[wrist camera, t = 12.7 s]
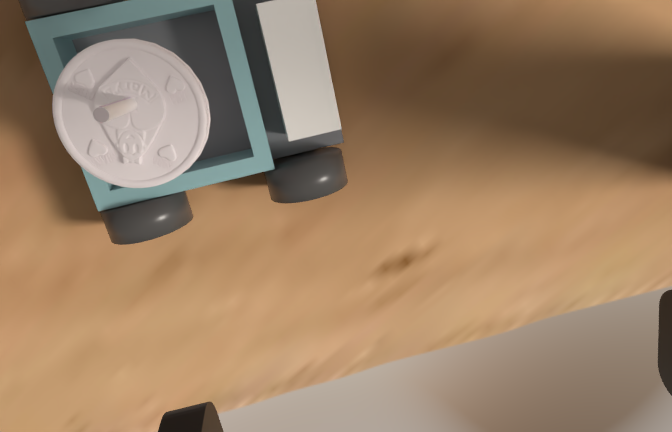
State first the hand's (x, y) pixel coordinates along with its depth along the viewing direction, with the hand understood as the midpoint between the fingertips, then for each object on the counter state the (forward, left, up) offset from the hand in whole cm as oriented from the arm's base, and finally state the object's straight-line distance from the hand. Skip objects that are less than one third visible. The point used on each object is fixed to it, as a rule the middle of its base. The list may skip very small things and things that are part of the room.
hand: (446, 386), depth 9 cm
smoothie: (+7, -5, -26) cm, 27 cm away
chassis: (+5, -5, -26) cm, 27 cm away
